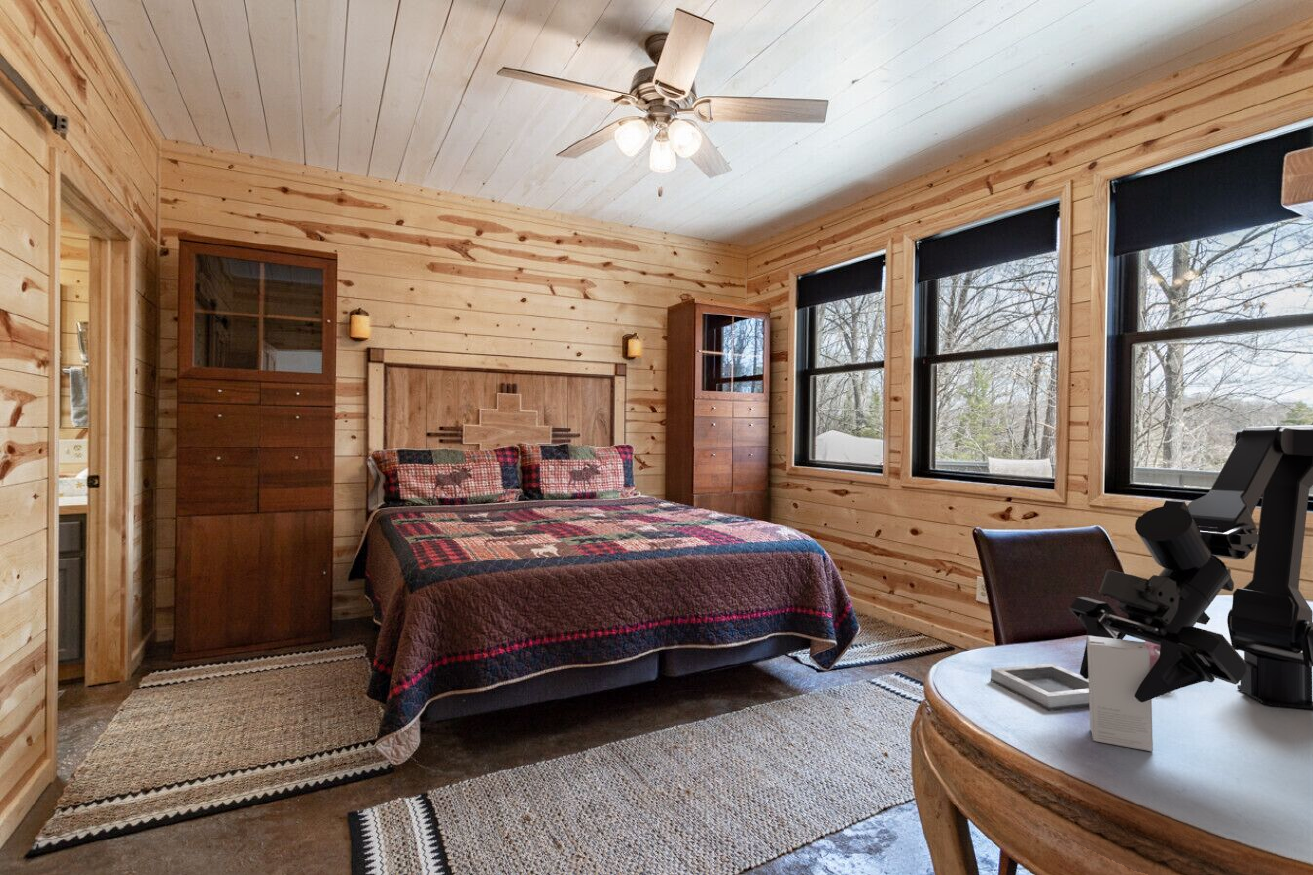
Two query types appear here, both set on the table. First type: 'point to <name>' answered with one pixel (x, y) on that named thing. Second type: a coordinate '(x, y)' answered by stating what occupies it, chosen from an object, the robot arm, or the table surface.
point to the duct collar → (1044, 685)
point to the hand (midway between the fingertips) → (1109, 687)
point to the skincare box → (1119, 692)
